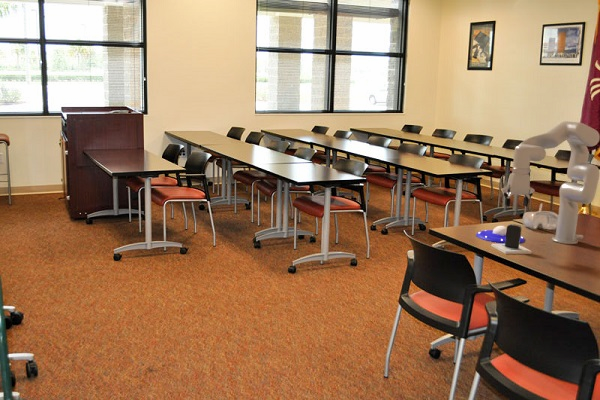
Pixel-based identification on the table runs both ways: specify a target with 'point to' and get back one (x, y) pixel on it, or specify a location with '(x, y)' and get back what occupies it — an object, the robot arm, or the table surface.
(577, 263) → the table surface
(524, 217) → the vr headset
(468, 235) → the table surface
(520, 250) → the plate
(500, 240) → the toy spaceship
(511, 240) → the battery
